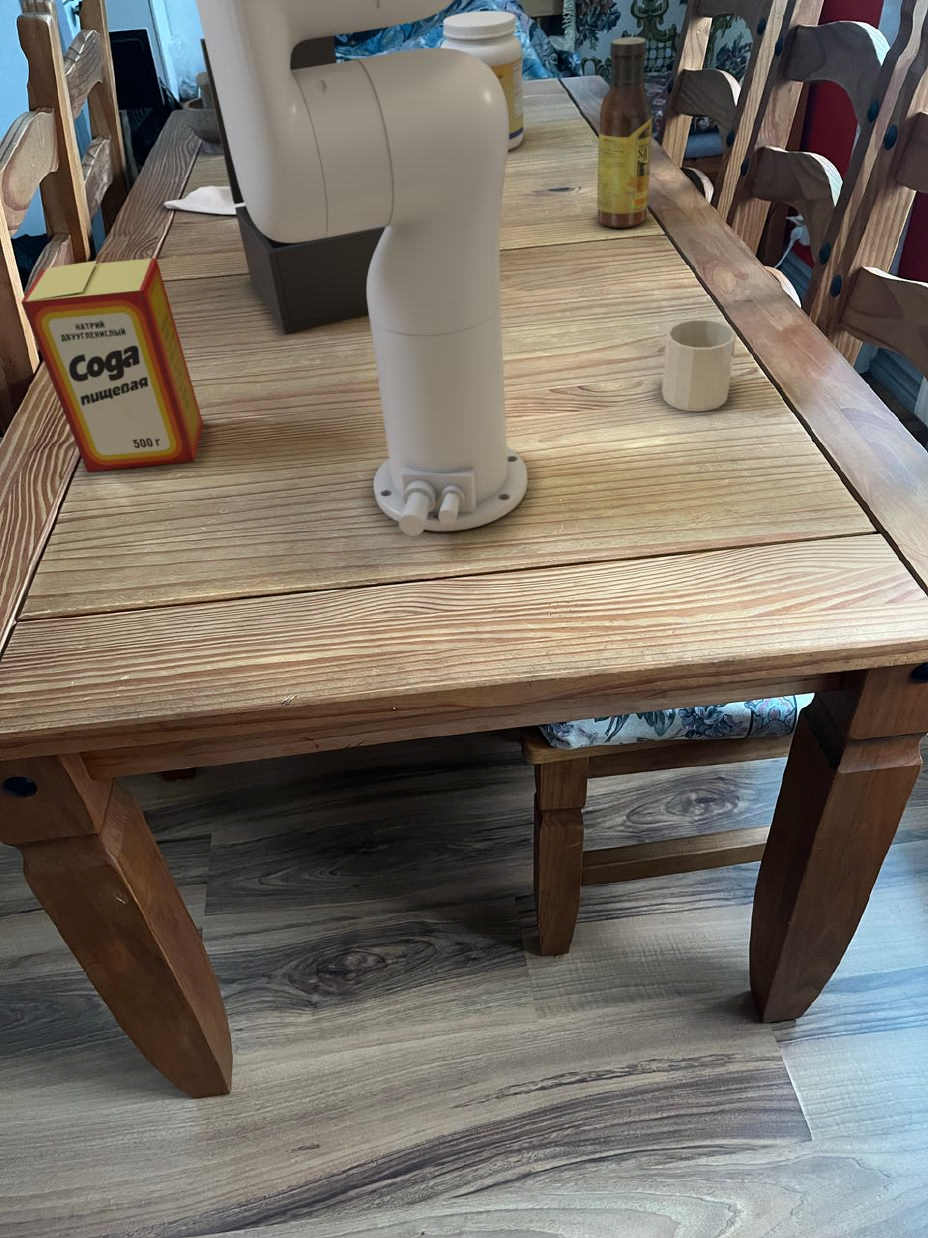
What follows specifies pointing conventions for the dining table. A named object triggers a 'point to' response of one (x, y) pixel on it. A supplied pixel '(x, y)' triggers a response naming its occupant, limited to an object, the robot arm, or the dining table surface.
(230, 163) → the compartment lid
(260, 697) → the dining table surface
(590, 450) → the dining table surface
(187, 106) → the mortar and pestle
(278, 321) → the dark grey storage bin
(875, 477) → the dining table surface
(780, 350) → the dining table surface
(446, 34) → the supplement tub
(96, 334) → the baking soda box
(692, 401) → the cup
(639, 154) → the sauce bottle
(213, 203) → the cloth
